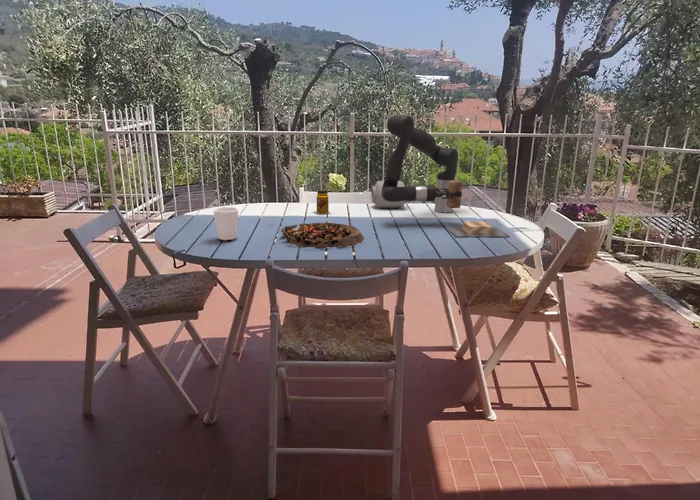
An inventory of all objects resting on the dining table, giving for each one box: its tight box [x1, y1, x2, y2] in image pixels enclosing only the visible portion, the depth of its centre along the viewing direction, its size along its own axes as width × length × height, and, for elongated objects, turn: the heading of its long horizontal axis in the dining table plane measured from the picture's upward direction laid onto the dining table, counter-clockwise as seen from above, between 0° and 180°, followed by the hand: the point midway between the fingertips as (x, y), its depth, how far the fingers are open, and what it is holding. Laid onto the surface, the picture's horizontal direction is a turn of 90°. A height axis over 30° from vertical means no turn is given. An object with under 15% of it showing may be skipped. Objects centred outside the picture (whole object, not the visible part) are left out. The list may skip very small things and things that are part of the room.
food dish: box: [280, 222, 365, 249], centre depth 206 cm, size 35×33×8 cm
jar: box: [360, 180, 406, 211], centre depth 267 cm, size 19×15×25 cm
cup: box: [213, 206, 239, 242], centre depth 201 cm, size 10×10×13 cm
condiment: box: [313, 189, 332, 216], centre depth 253 cm, size 7×8×12 cm
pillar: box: [447, 180, 463, 209], centre depth 230 cm, size 5×5×12 cm
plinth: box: [445, 220, 511, 239], centre depth 220 cm, size 24×16×4 cm, turn 94°
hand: (459, 193), depth 230 cm, fingers closed on pillar, 5 cm apart
